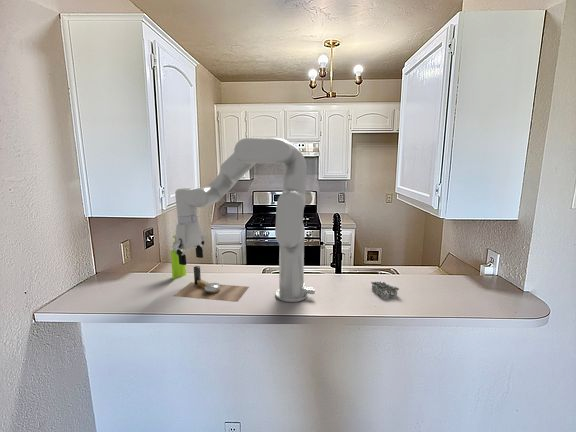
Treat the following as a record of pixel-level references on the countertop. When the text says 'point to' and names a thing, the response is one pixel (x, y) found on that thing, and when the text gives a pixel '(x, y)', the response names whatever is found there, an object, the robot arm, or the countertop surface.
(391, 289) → the rough grey rock
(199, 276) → the ice cream scoop
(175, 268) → the soap dispenser
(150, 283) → the countertop surface
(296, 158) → the robot arm
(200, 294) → the brown flat rectangular board
